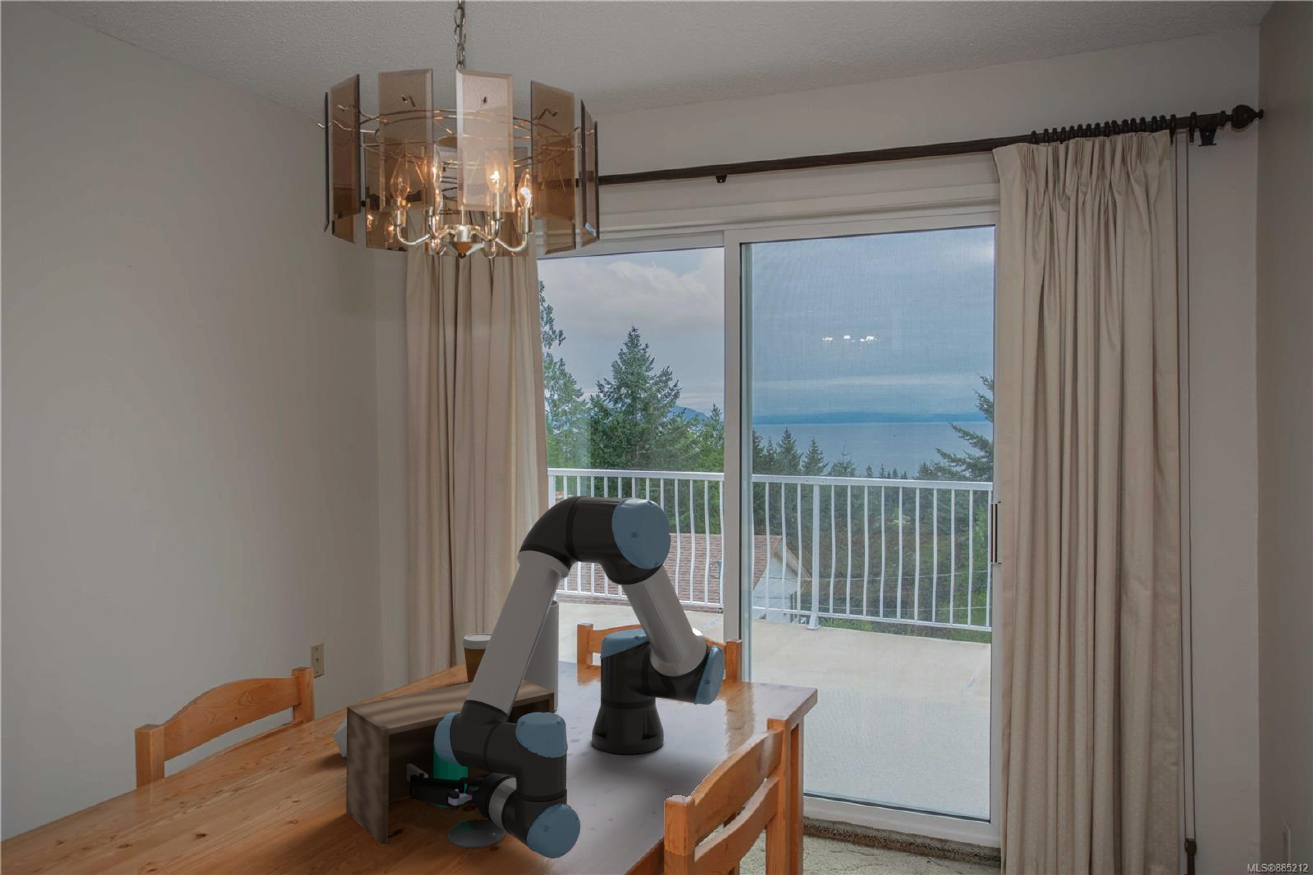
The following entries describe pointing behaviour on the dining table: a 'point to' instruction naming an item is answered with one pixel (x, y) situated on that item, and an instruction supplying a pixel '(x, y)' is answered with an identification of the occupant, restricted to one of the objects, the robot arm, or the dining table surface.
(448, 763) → the candle
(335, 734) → the die
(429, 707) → the cubby
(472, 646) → the disposable coffee cup
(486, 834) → the coaster
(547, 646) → the cylinder vase
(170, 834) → the dining table surface
